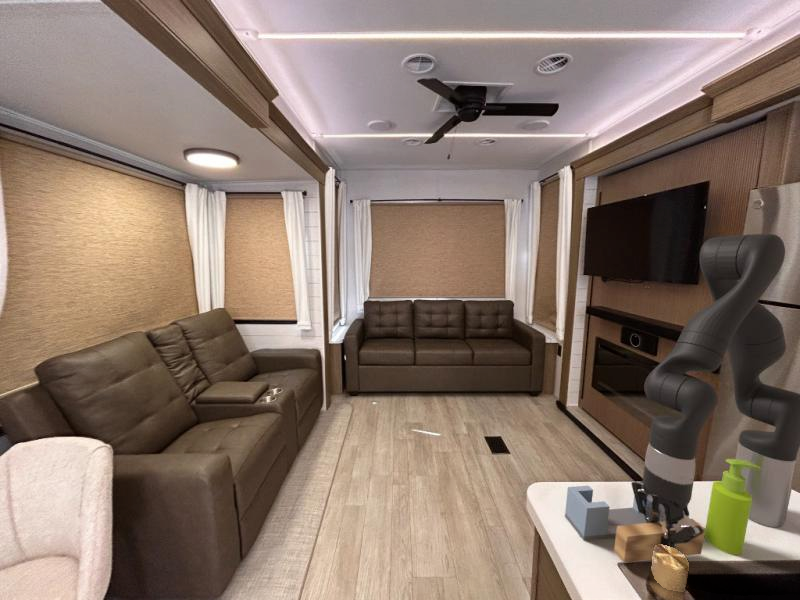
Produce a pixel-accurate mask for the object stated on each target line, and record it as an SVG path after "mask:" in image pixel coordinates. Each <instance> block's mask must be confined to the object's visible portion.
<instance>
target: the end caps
mask: <svg viewBox="0 0 800 600" xmlns="http://www.w3.org/2000/svg"><path fill="white" fill-rule="evenodd" d="M593 496H594V490H593V488H591V486H590V485H576V486H568V487H567V493H566V502H565V512H564V518H565V519H566V521H568V522H569V524H570V525H571V526H572V527H573V529H574V530H575V531H576V533H577V535H579V537H580V538H581V539H582V540H583V541H592V540H603V539H612V538H615V539H616V531H617V526H622V525H633V524H643V523H646V522H647V521H646V520H645V515H644V514H643V513H640V512H639V510H638V507H637V503H636V500H635V496H634V497H633V504H632V507H621V508H611V509H610V505H609V504H608V503H607V502H606V501H605V500H604V501H594V502H593ZM642 503H643V506H645V503H644V500H643V501H642ZM659 522H660V521H659Z"/></svg>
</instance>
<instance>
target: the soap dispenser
mask: <svg viewBox="0 0 800 600" xmlns="http://www.w3.org/2000/svg"><path fill="white" fill-rule="evenodd" d="M725 463H727V464H729V470H723V472H722V478H721V480H715V481H713V483H712V486H711V493H710V500H709V506H708V511H707V512H708V513H707V515H706V516H707V517H706V524H705V527H704V528H705V533H704V538H705V539H706V541H708V542H709V543H710V545H712V546H713V547H715V548H717V549H718V550H720V551H721V552H724V553H727V554H729V555H733V556H741V555H742V554H743V550H744V549H743V548H744V544H745V539H746V538H745V537H746V533H747V528H748V522H749V519H748V518H749V512H750V507H751V501H752V497H751V495H750V494H749V493H748V492H746V491H745V490H744V488H745V483H746V479H745V478H744V477H743V476H741V471H742V467H745V468H753V469H757V470H762V468H760V467H759V466H757V465H756V464H754V463H752V462H749V461H745V460H739V459H736V458H725Z"/></svg>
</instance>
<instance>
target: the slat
mask: <svg viewBox="0 0 800 600" xmlns="http://www.w3.org/2000/svg"><path fill="white" fill-rule="evenodd" d="M690 519H691V521H692V522H693V523H694V525H695V526H700V527H701V528H702V530H703V533H702V534H701V535H699V536H697V537H696V538H694V539H692V540H691V541H689V542H688V543H681V544H675V547H674V548H675V549H677V550H678V551H680V552H681V553H682V554H684V555H685V556H684V557H687V556H696V555H702V550H703V543H704V538H705V528H706V527H703V526H702V525H701V524H700V523H699V522H697V521H696V520H695V519H693V518H690ZM682 524H683V521H682V520H681V525H680V527H679V528H678V532H679V531H680V530H682V529H681V526H682ZM661 537H662V525H661V524H660V522H653V523H643V524H633V525H622V526H617V531H616V537H615V541H614V546H613V547H614V548H613V551H614V553H615V555H617V556H618V558H619V559H620V561H622V563H624V564H626V563H634V562H635V563H636V562H643V561H652V556H653V551H654V547H655V545H658V544H661Z"/></svg>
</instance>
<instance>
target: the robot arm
mask: <svg viewBox="0 0 800 600" xmlns="http://www.w3.org/2000/svg"><path fill="white" fill-rule="evenodd" d="M785 257H786V246H785V243H784V241H783V239H782V238H781V237H780V236H778V235H777V234H773V233H756V234H755V233H754V234H740V235H728V236H727V235H726V236H717V237H716V236H715V237H712V238H709V239H707V240H706V241H704V242H703V244H702V246H701V247H700V251H699V266H700V271H701V272H702V273H701V274H702V276H703V278H704V281H705V284H706V285H707V287H708V291H709V293H710V295H711V297H712V299H713V303H711V304H709V305H708V306H706V307H705V308H703V309H701V310H699V312H697V313H696V314H694V315H693V316H692V317H691V318H690V319H689V320H688V321H687V323H686V324H685V326H684V327H683V329H682V331H681V332H680V336H679V337H678V339H677V341H676V343H675V345H674V347H673V349H672V350H671V351H670V352H669V353H668V355H666V357H665V358H664V359H663V360H662V361H661V362H660V363H659V364H658V365H657V366H656V367H654V368H653V370H652V371H651V372H649V374H648V375H647V377H646V379H645V380H644V383H643V384H644V387H643V389H644V393H645V396H646V398H648V400H650V401H651V402H653V403H655V404H658V405H659V406H663V407H666V408H668V409H671V410H674V411H676V412H678V413H682V417H681V418H679V417H675V416H674V417H673V416H668V415H657V416H655V417H653V419H652V421H651V423H650V430H649V438H648V439H649V441H648V445H647V448H646V452H645V457H644V458H645V460H644V468H643V475H642V476H643V477H642V481H632V482H631V488H632V493H633V495H634V496H635V500H636V503H637V507H638V510H639V512H640V513H643V514H644V515H645V520H646V521H647V522H646V523H653V522H659V521H660V524H661V525H662V537H661V544H663V545H667V546H670V547H673V548H674V547H675V544H681V543H688V542H689V541H691V540H692V539H694V538H696V537H697V536H699V535H701V534H702V533H703V530H702V528H701V527H700V526H695V525H694V523H693V522H692V521H691V519H692V518H690V517H689V516H690V511H689V509H688V505H689V504H690V502H691V500H692V494H693V487H694V480H695V475H696V454H697V447H698V441H699V438H700V435H701V432H702V431H703V428H704V426H705V425H706V423H707V422H708V419H710V417H711V415H712V414H713V412H714V411H715V409H716V407H717V405H718V402H719V397H718V393H717V391H716V390H715V388H714V386H712V384H710V383H708V382H706V381H704V380H701V379H698V378H694V377H690V376H686V375H685V374H687V372H708V373H709V372H710V373H711V372H715V371H716V370H718V369H719V367H720V366H721V364H722V362H723V359H724V357H725V355H726V353H727V355H728V359H729V363H730V368H731V373H732V382H733V390H734V391H733V393H734V401H735V405H736V407H737V410H738V411H739V413H741V415H743V416H745V417H748V418H749V419H753V420H755V421H758V422H762V423H763V424H766V425H770V426H773V427H775V430H774V431H765V430H763V431H762V430H757V429H756V430H755V429H746V430H742V431H740V433H739V437H738V442H737V448H736V455H735V459H739V460H745V461H749V462H752V463H754V464H756V465H757V466H759V467H760V468H762V470H757V469H753V468H745V467H742V471H741V476H743V477H744V478H745V479H746V483H745V488H744V490H745V491H746V492H748V493H749V494H750V495H751V497H752V501H751V507H750V512H749V518H748V520H750V521H752V522H755V523H757V524H761V525H763V526H767V527H771V528H781V527H783V525H784V522H785V521H786V519H787V514H788V509H789V506H790V505H789V504H790V499H791V494H792V489H793V487H792V482H793V477H794V476H793V475H794V471H795V467H796V461H797V456H798V452H799V450H800V393H798V392H795V391H791V390H787V389H784V388H780V387H777V386H773V385H769V384H765V383H763V382H762V380H761V379H760V375H761V374H763V372H765V370H768V368H770V367H771V366H773V365H774V364H775V363H777V362H778V361H779V360H781V359H782V357H783V356H784V355H785V354H786V351H787V344H786V338H785V334H784V328H783V326H782V325H783V324H782V323H781V321H780V320H779V319H778V318H777V316H776V315H774V314H773V313H772V311H770V310H769V309H768V308H766V307H765V306H764V305H763V304H761V303H760V302H759V300H760V299H761V298H762V297H763V295H764V294H765V292H766V291H767V289H768V288H769V286H771V284H772V282H773V281H774V279H775V278H776V277H777V275H778V274H779V272H780V270H781V268H782V266H783V263H784V261H785ZM643 500H644V503H645V506H643V503H642V501H643ZM681 520H682V521H683V524H682V526H681V529H682V530H680V531H679V532H678V528H679V527H680V525H681Z"/></svg>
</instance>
